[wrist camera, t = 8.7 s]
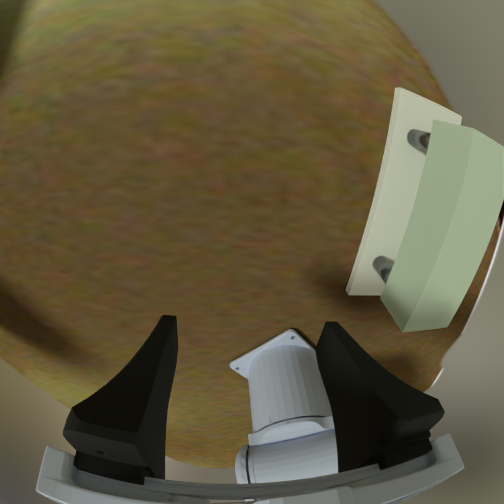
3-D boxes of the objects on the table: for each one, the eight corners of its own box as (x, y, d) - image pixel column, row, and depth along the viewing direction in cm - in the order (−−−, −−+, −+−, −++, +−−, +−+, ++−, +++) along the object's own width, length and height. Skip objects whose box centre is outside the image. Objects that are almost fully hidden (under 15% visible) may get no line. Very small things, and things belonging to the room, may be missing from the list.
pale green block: (424, 297, 21) (447, 327, 18) (380, 298, 21) (401, 332, 17) (476, 141, 15) (514, 154, 11) (433, 119, 14) (474, 128, 11)
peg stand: (403, 290, 26) (422, 315, 22) (345, 289, 25) (361, 318, 21) (456, 115, 17) (487, 122, 14) (395, 87, 17) (426, 88, 13)
